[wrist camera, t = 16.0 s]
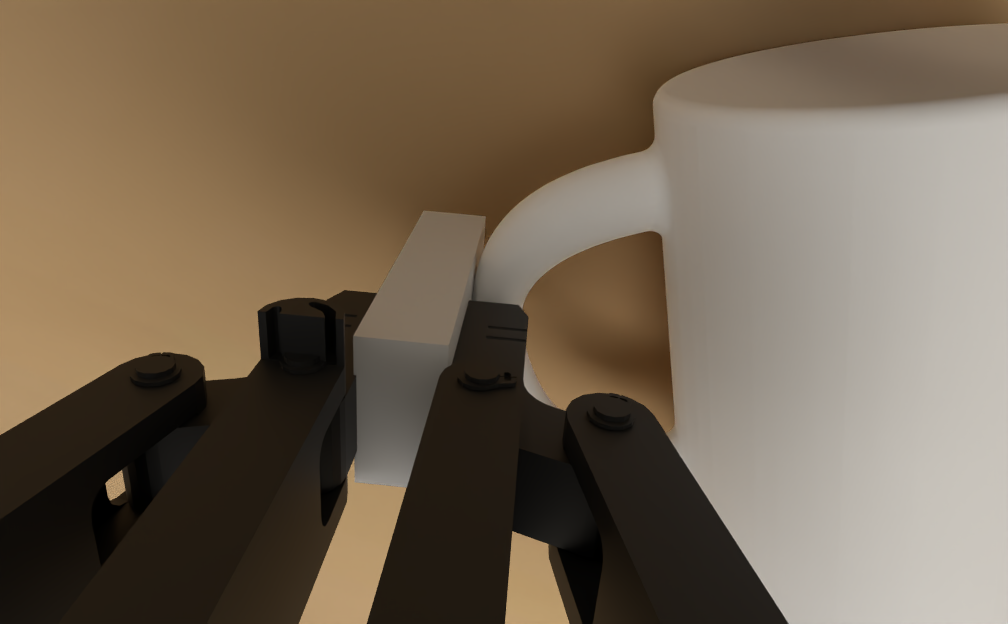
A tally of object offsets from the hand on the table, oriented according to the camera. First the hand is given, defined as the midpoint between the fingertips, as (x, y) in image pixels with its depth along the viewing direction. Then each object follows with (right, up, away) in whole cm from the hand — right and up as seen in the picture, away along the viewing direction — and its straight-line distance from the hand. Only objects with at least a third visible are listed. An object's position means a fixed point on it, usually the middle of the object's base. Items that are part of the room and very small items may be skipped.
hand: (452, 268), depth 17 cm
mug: (+7, 0, +1) cm, 7 cm away
